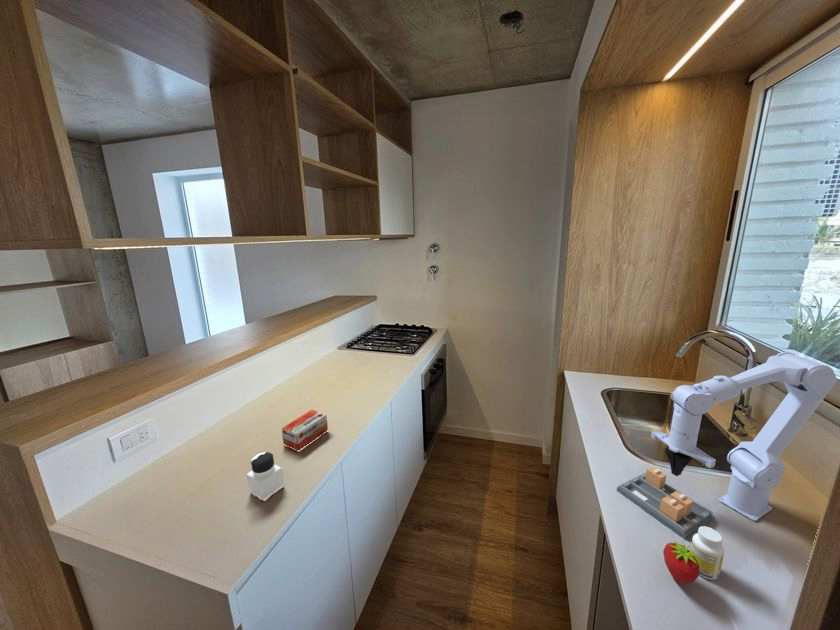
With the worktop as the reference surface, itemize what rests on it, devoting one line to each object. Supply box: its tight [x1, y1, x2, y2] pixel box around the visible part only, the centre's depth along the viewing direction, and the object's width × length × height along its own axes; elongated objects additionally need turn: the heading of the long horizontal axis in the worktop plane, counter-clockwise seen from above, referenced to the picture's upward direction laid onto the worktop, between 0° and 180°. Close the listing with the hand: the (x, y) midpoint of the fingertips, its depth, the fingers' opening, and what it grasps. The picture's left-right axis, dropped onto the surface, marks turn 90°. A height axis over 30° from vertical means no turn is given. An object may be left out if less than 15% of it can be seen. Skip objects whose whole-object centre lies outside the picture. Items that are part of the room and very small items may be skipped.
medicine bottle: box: [246, 451, 285, 499], centre depth 101 cm, size 7×7×12 cm
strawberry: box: [662, 540, 700, 584], centre depth 72 cm, size 6×8×10 cm
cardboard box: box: [645, 466, 667, 489], centre depth 98 cm, size 3×4×5 cm, turn 25°
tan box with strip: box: [670, 490, 693, 517], centre depth 89 cm, size 3×4×5 cm, turn 25°
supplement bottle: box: [689, 525, 725, 581], centre depth 74 cm, size 5×5×10 cm
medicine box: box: [281, 409, 329, 450], centre depth 127 cm, size 15×8×8 cm, turn 151°
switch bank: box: [616, 472, 715, 540], centre depth 93 cm, size 13×18×2 cm
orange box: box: [659, 496, 684, 523], centre depth 87 cm, size 3×4×5 cm, turn 25°
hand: (676, 473), depth 92 cm, fingers closed
